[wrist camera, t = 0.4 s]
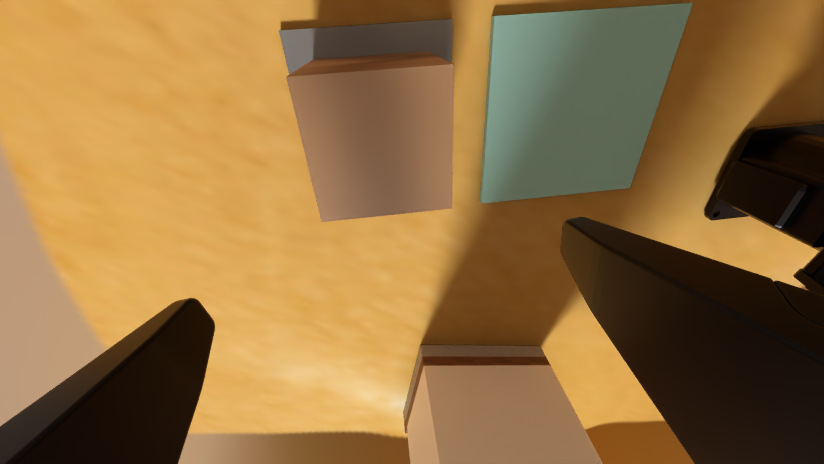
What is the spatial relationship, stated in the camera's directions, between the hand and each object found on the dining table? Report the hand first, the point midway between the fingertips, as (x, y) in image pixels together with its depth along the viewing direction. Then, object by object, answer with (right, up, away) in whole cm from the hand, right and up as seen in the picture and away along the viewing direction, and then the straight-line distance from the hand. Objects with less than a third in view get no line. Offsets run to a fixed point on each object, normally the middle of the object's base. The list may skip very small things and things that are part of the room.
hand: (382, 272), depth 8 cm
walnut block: (-1, +7, +9) cm, 12 cm away
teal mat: (+10, +8, +11) cm, 17 cm away
